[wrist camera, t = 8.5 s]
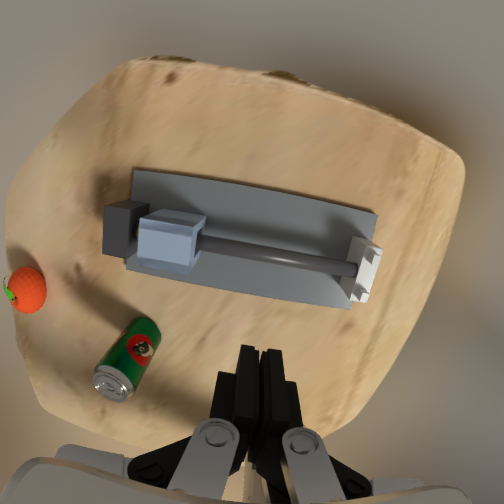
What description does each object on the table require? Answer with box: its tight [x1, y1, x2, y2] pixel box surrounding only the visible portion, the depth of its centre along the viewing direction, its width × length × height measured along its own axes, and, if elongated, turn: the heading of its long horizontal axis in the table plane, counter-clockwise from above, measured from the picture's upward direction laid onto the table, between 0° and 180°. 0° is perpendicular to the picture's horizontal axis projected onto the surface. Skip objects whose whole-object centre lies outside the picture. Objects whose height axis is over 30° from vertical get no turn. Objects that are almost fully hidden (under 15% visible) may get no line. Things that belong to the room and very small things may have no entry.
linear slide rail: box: [102, 170, 383, 310], centre depth 28 cm, size 28×12×6 cm, turn 80°
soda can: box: [93, 318, 161, 402], centre depth 29 cm, size 5×5×12 cm
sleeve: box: [137, 209, 207, 275], centre depth 27 cm, size 5×4×6 cm
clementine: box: [3, 267, 47, 313], centre depth 30 cm, size 8×7×7 cm
